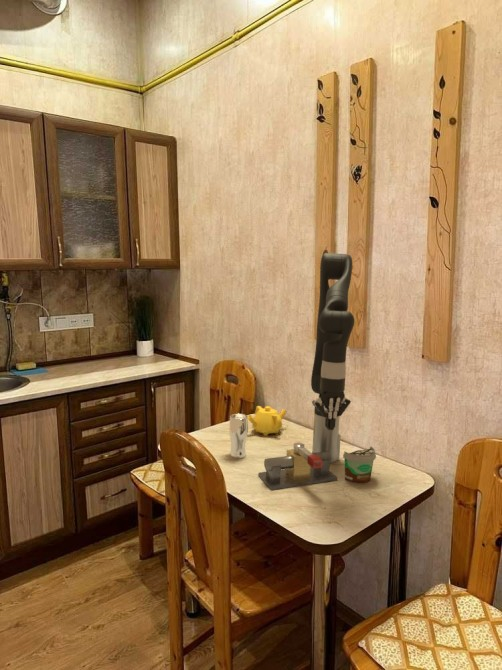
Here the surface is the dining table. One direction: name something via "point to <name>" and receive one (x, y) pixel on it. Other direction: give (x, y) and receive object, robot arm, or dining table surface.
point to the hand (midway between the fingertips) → (329, 429)
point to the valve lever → (307, 455)
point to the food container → (359, 465)
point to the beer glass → (238, 434)
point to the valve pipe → (295, 471)
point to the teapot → (267, 420)
